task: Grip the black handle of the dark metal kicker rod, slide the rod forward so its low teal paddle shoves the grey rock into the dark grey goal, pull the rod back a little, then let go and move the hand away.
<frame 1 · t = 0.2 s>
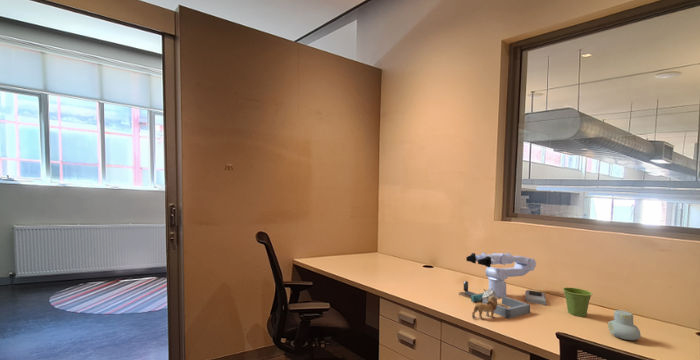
hand: (472, 260, 169), 21 cm above the table, tool horizontal, fingers open, 7 cm apart
kicker: (472, 290, 171), point 4 cm above the table, slide at 0.0 cm
grey rock: (489, 305, 161), on the table
goal: (505, 310, 153), on the table
lion figurine: (484, 317, 144), on the table
plant pot: (577, 314, 151), on the table
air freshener: (623, 337, 127), on the table
rail: (467, 296, 173), on the table
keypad: (535, 300, 172), on the table
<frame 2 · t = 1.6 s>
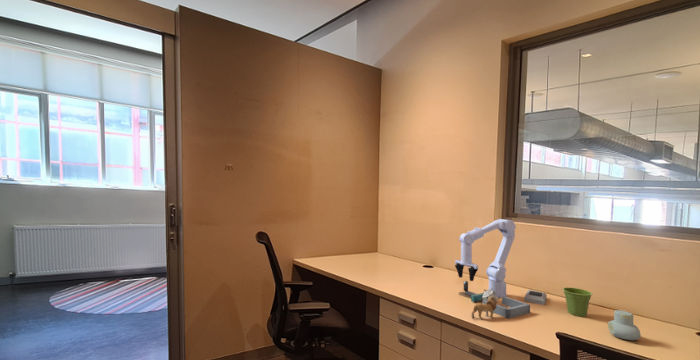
hand: (465, 279, 175), 9 cm above the table, tool pointing down, fingers open, 7 cm apart
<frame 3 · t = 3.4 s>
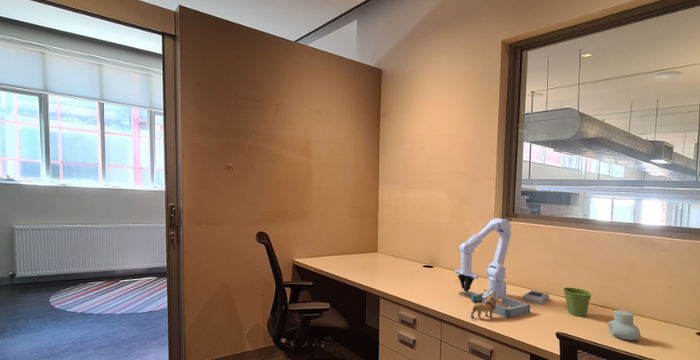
hand: (465, 288, 174), 4 cm above the table, tool pointing down, fingers closed on kicker, 2 cm apart
kicker: (472, 290, 171), point 4 cm above the table, slide at 0.0 cm, touching gripper
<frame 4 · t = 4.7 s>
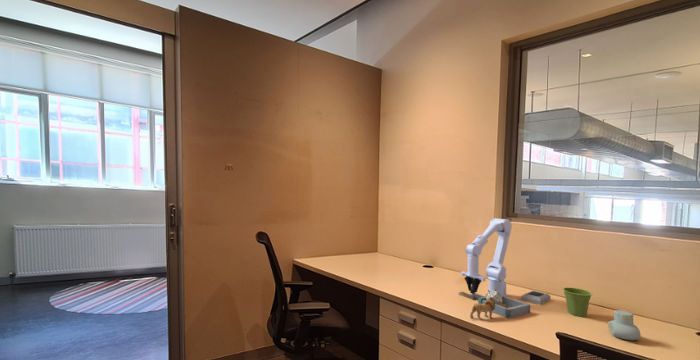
hand: (472, 291, 170), 4 cm above the table, tool pointing down, fingers open, 3 cm apart
kicker: (479, 292, 167), point 4 cm above the table, slide at 4.6 cm, touching grey rock, gripper
grey rock: (493, 306, 159), on the table, touching kicker
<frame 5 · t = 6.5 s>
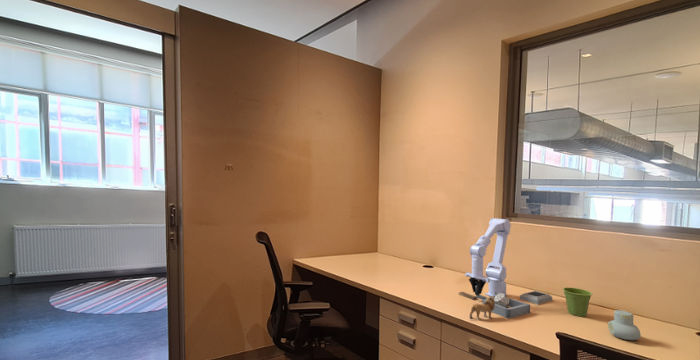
hand: (477, 292, 168), 4 cm above the table, tool pointing down, fingers closed on kicker, 2 cm apart
kicker: (484, 294, 164), point 4 cm above the table, slide at 7.6 cm, touching gripper
grey rock: (501, 309, 155), on the table
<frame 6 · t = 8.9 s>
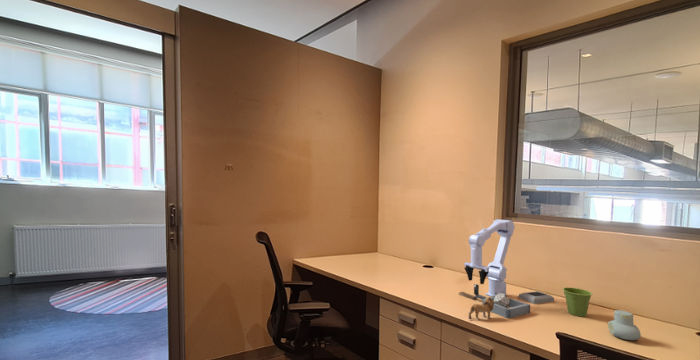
hand: (476, 282, 169), 9 cm above the table, tool pointing down, fingers open, 7 cm apart
kicker: (483, 294, 165), point 4 cm above the table, slide at 7.0 cm
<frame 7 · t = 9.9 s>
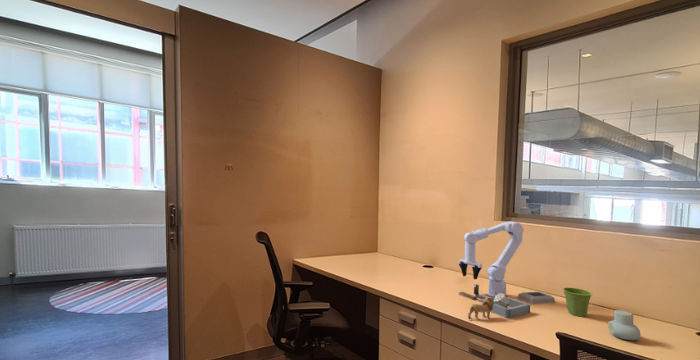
hand: (469, 277, 178), 9 cm above the table, tool pointing down, fingers open, 7 cm apart
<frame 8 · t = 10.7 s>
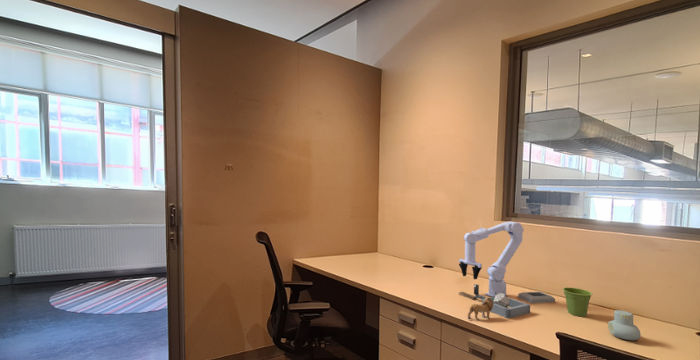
hand: (469, 277, 178), 9 cm above the table, tool pointing down, fingers open, 7 cm apart
at the end: grey rock inside the target area (3.7 cm from its centre), on the table; kicker slide at 7.0 cm; grey rock tilted 0° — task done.
